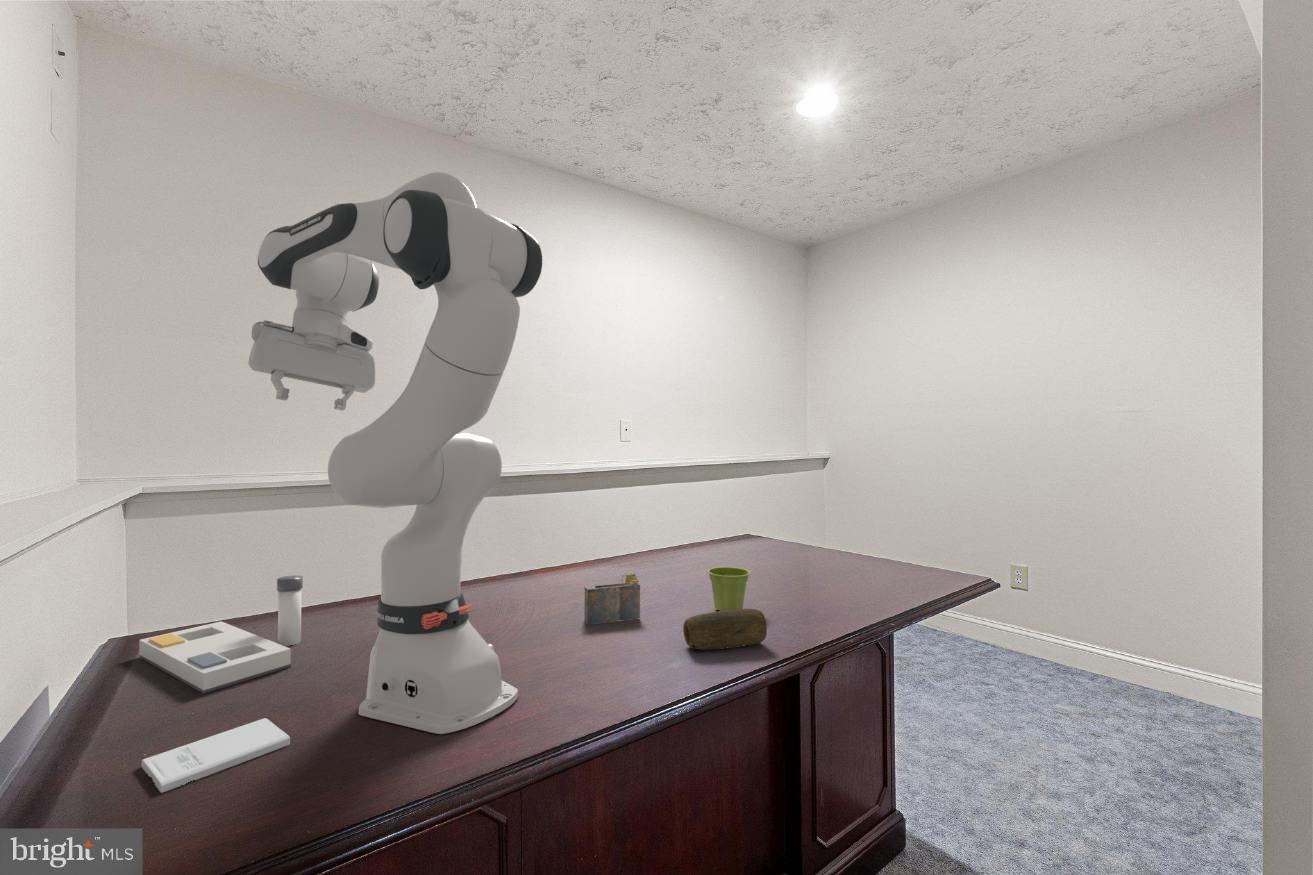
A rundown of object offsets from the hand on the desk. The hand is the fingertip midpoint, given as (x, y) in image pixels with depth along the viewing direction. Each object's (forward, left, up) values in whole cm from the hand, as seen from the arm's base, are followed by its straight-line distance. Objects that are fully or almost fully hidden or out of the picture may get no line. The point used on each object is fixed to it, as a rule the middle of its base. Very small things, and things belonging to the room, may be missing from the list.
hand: (311, 404), depth 104 cm
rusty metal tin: (-36, -43, -45) cm, 72 cm away
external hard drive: (-28, +24, -45) cm, 58 cm away
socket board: (+6, +12, -44) cm, 46 cm away
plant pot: (-54, -63, -44) cm, 93 cm away
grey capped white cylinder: (+5, +1, -44) cm, 44 cm away
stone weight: (-63, -42, -44) cm, 87 cm away
